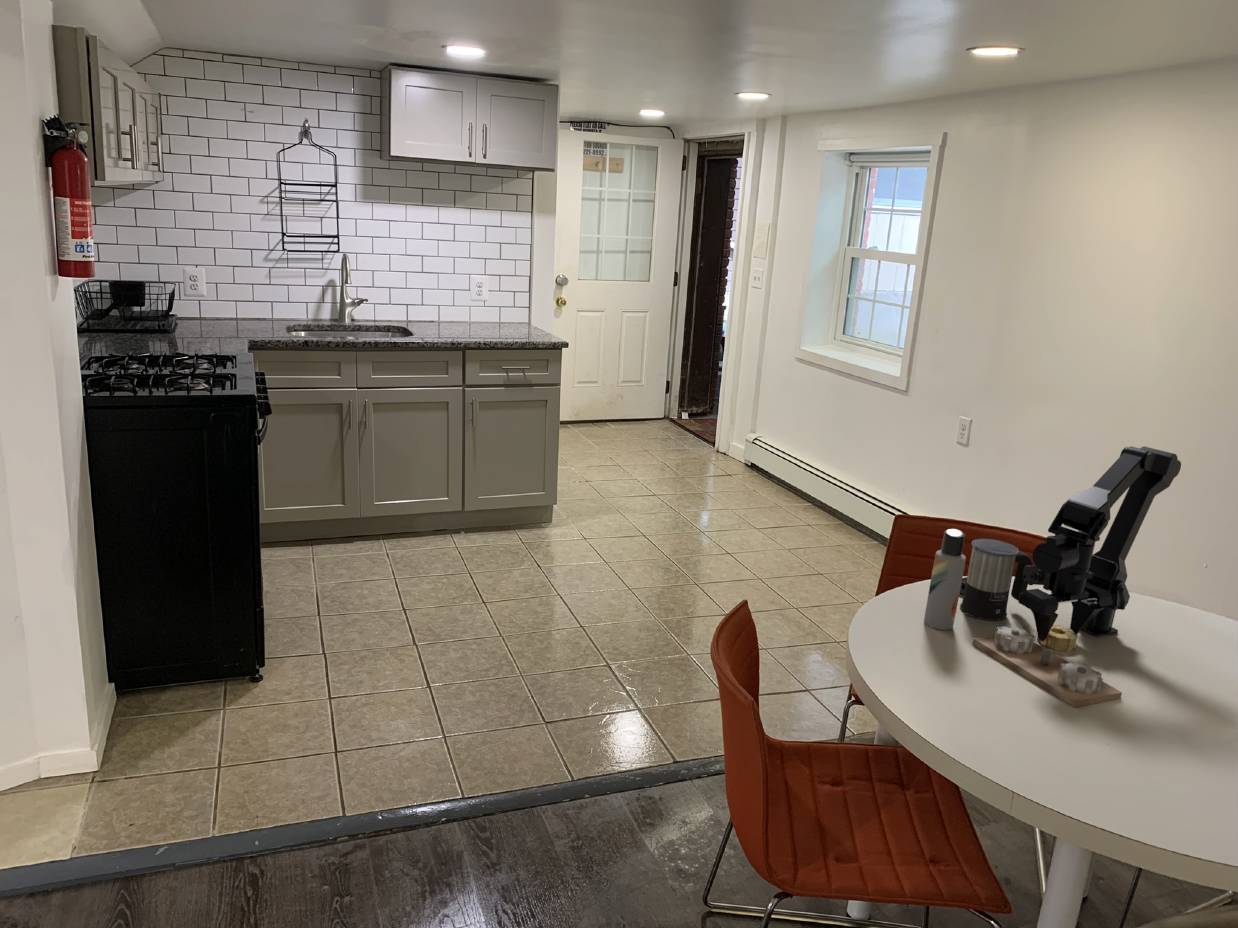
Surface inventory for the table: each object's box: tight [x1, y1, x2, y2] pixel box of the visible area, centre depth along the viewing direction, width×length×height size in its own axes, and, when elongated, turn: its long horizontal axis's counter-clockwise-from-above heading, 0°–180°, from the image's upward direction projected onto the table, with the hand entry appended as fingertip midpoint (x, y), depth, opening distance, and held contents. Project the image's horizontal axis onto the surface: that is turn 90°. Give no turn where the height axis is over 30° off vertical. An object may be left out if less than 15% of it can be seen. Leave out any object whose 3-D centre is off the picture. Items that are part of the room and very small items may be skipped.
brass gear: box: [1036, 623, 1078, 652], centre depth 181 cm, size 7×7×2 cm
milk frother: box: [959, 538, 1034, 621], centre depth 195 cm, size 14×16×15 cm
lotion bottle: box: [923, 528, 967, 631], centre depth 183 cm, size 6×6×20 cm
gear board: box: [972, 625, 1123, 708], centre depth 169 cm, size 24×11×4 cm, turn 23°
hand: (1056, 637), depth 181 cm, fingers open, 8 cm apart
